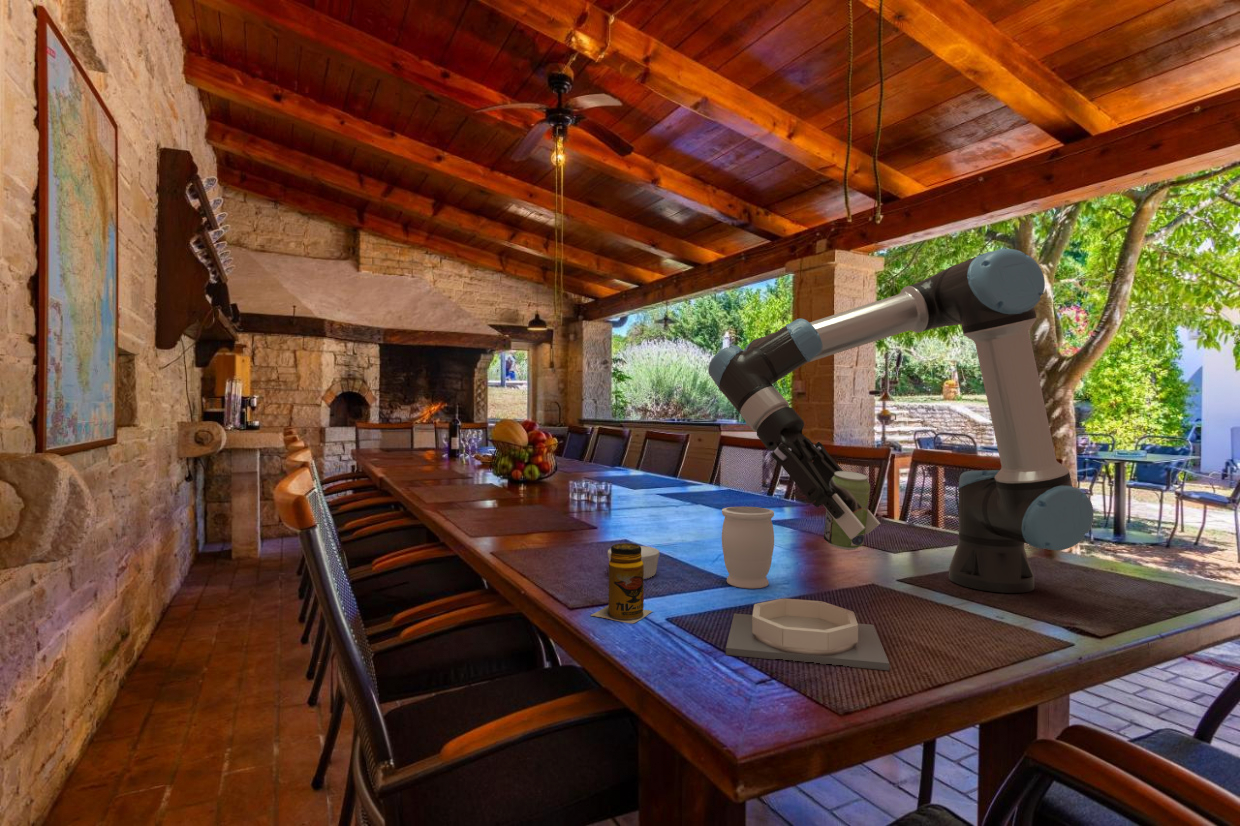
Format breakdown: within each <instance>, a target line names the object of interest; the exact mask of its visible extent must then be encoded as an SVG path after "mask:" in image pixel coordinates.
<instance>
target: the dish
mask: <svg viewBox="0 0 1240 826" xmlns="http://www.w3.org/2000/svg"><path fill="white" fill-rule="evenodd" d="M751 615H752V633H753V634H754V636H755V637H756V638H757V639H758V640H759V641H761V642H762V643H764V644H766V645H768V646H771V647H773V648H777V649H780V650H784V651H788V652H794V653H800V654H811V655H827V654H836V653H841V652H845V651H848V650H850V649H851V648H853V647H854V646H855V644H856V643H857V642H858V624H859V623H858V621H857V618H856V613H855V612H854V611H852V610H849V609H847V608H843V607H840V606H838V605H835V604H831V603H828V602H825V601H821V600H809V599H797V598H796V599H795V598H778V599H773V600H768V601H762V602H758V603H754V604H753V610H752V614H751Z"/></svg>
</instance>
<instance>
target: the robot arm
mask: <svg viewBox="0 0 1240 826" xmlns="http://www.w3.org/2000/svg"><path fill="white" fill-rule="evenodd" d="M1045 281H1046V280H1045V275H1044V272H1043V271H1042V268H1041V266H1040V265H1039V264H1038V262H1037V261H1036V260H1035V259H1034V258H1032V256H1030V255H1027V254H1026V253H1024V252H1023V251H1020V250H1018V249H1014V248H1001V249H996V250H993V251H987V252H984V253H982V254H979V255H977V256H975V257H973V258H972V257H971V258H970V259H967V260H964V261H962V262H960V263H956V264H954V265H952V266H949V267H947V268H945V269H943V270H941V271H939V272H937V273H935V274H934V275H931V276H929V277H927V278H926V279H924V280H920V281H919V282H916V283H913V284H910V285H907V286H904V287H903V288H902V289H901V290H900V292H899V293H898V294H896V295H895V294H894V295H893V296H889V297H885V298H883V299H880V300H877V301H873V302H869V303H867V304H863V305H861V306H857V307H854V308H852V309H848V310H845V311H841V312H839V313H838V312H837V313H835V314H833V315H829V316H825V317H823V318H819V319H815V320H813V321H811V322H809V321H808V320H807V319H804V318H797V319H795V320H793V321H791V322H790V323H787V324H785V326H783V327H782V328H780V329H779V330H777V331H775V332H772V333H770V334H767V335H765V336H762V337H759V338H755V339H752V341H751V342H749V343H748V344H747V345H746V347H745V348H744V349H742V348H741V347H740V346H738V345H730V346H726V347H724V348H722V349H721V350H719V351H718V352H717V353H716V354H715V355H714V356H713V357H712V358H711V360H710V361H709V364H708V371H707V372H708V375H709V377H710V378H711V379H712V381H713V382H714V383H715V385H716V387H717V388H718V390H719V392H721V393H722V395H724V397H726V399H727V400H728V401H729V403H730V404H731V405H732V406H733V407H734V408H735V410H736V411H737V412H738V413H739V415H740V416H741V417H742V418H743V420H744V421H745V425H746V426H747V427H750V428H751V430H752V431H753V432H755V433H756V436H757V437H758V439H759V440H760V441H761V443H762V444H763V445H764V446H765V448H766V449H767V450H769V451H773V452H772V453H771V454H770V455H771V457H772V458H773V459H774V460H775V461H776V462H777V463H778V464H779V465H780V466H781V467H782V468H783V470H784V471H785V472H786V473H787V475H788V476H789V477H790V478H791V479H792V480H793V482H794V483H795V484H796V486H797V487H798V489H800V491H801V492H802V493H803V494H804V496H805V497H806V498H807V499H808V500H809V501H810V502H811V503H812V505H814V507H816V508H819V507H820V506H821V505H822V506H823V507H824V508H825V511H826V510H827V511H828V512H829V514H830V515H831V516H832V517H833V518H834V520H835V521H836V522H837V523H838V525H839V526H840V527H841V528H842V530H843V531H844V532H845V533H846V534H847V536H848V537H849V538H850V539H853V538H854V537H855V536H856V535H857V534H859V533H860V532H861V531H862V530H863V529H864V528H865V535H869V534H870V533H871V532H872V531H874V530H875V529H876V528H877V527H878V526H879V525H881V522H880V521H879V520H878V519H877V518H876V516H875V515H874V514H873V513H872V512H871V510H869V508H868V511H867V519H866V527H864V526H863V524H862V523H861V522H860V521H859V520H858V518H857V517H856V516H855V515H854V514H853V512H852V511H851V510H850V509H849V508H848V506H847V505H846V504H845V503H844V502H843V500H842V499H841V498H840V497H839V496H838V494H834V495H833V496H831V495H832V492H831V490H830V489H829V483H830V479H831V478H832V477H833V476H834V473H835V472H837V471H844V470H843V469H842V468H841V466H840V465H839V464H838V463H837V462H836V461H835V459H834V458H833V457H832V456H831V455H830V453H829V452H828V450H826V448H825V446H824V445H823V444H822V442H820V441H818V442H817V443H815V444H814V442H813V441H812V440H810V439H809V438H808V437H806V436H805V434H803V429H804V428H805V421H804V419H802V417H801V416H800V415H799V414H798V413H797V411H796V410H795V409H794V408H792V407H790V404H789V401H787V400H786V398H785V397H784V396H783V395H782V394H781V393H780V392H779V390H777V388H776V387H775V386H774V384H775V383H777V382H778V381H780V380H781V379H783V378H784V377H786V376H788V375H789V374H791V373H793V372H794V371H795V370H798V369H799V368H801V367H802V366H804V365H805V364H807V363H810V362H814V361H816V360H821V359H823V358H826V357H829V356H833V355H836V354H839V353H843V352H846V351H848V350H852V349H854V348H859V347H861V346H864V345H868V344H870V343H874V342H876V341H877V342H878V341H880V340H883V339H887V338H889V337H893V336H897V335H899V334H903V333H905V332H909V331H911V332H914V333H918V334H919V333H923V332H925V331H928V330H932V329H937V328H938V329H939V328H943V327H951V326H960V325H961V328H962V333H963V336H964V337H966V338H968V339H970V340H971V341H973V343H974V344H975V345H974V346H975V348H976V353H977V354H976V355H977V357H978V358H977V359H978V363H979V368H980V372H981V377H982V382H983V385H984V392H985V396H986V401H987V405H988V411H989V414H990V420H991V424H992V427H993V428H992V429H993V433H994V438H995V442H996V443H995V444H996V447H997V452H998V457H999V461H1000V465H1001V468H1000V469H993V470H990V469H989V470H970V471H969V470H967V471H966V470H965V471H964V472H962V473H961V474H960V476H959V479H958V480H959V481H958V487H957V492H958V542H957V545H956V548H955V551H954V553H953V557H952V559H951V561H950V563H949V566H948V580H950V582H953V583H954V584H957V585H959V586H962V587H966V588H970V589H975V590H979V591H987V592H992V593H1005V594H1019V593H1028V592H1032V591H1034V589H1035V575H1034V572H1033V570H1032V566H1031V564H1030V561H1029V558H1028V555H1027V552H1026V550H1025V544H1027V545H1029V546H1031V547H1033V548H1036V549H1043V550H1044V549H1045V550H1050V551H1065V550H1068V549H1070V548H1073V547H1075V546H1077V545H1078V544H1079V543H1081V541H1083V540H1084V538H1085V535H1086V534H1088V533H1089V531H1090V530H1091V528H1092V525H1093V523H1094V522H1093V521H1094V506H1093V504H1092V501H1091V499H1090V498H1089V497H1088V495H1087V494H1086V493H1084V492H1083V491H1082V490H1080V489H1079V488H1077V487H1075V486H1073V483H1072V479H1071V478H1072V477H1071V474H1070V471H1069V470H1070V469H1069V468H1068V467H1067V466H1065V465H1063V464H1061V463H1060V462H1058V461H1057V457H1056V452H1055V447H1054V442H1053V437H1052V433H1051V432H1052V431H1051V427H1050V424H1049V419H1048V415H1047V409H1046V405H1045V402H1044V396H1043V390H1042V387H1041V383H1040V382H1041V381H1040V377H1039V371H1038V367H1037V363H1036V358H1035V355H1034V349H1033V344H1032V339H1031V335H1030V329H1031V328H1032V327H1033V325H1034V324H1035V323H1036V321H1037V319H1038V318H1037V315H1036V309H1035V307H1036V306H1037V305H1038V303H1039V302H1040V301H1041V297H1042V295H1044V293H1045V289H1046V288H1045V285H1046V282H1045Z"/></svg>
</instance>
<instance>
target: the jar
mask: <svg viewBox="0 0 1240 826" xmlns="http://www.w3.org/2000/svg"><path fill="white" fill-rule="evenodd" d="M774 512H775V511H774V510H772V509H770V508H765V507H759V506H729V507H724V508H722V509H721V513H722V515H723V517H724V520H723V523H722V526H721V527H722V529H721V547H722V554H723V561H724V565H725V569H726V570H727V573H728V576H727V578H726V582H727V583H726V584H728V585H730V586H732V587H734V588H735V587H736V588H741V589H742V588H743V589H751V590H752V589H753V590H754V589H763V588H765V587H767V586H769V583H770V582H769V579H768V578H767V575H769V572H770V570H771V566H772V560H773V553H774V548H775V531H774V525H773V522H772V518H774V516H775V513H774Z"/></svg>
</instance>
